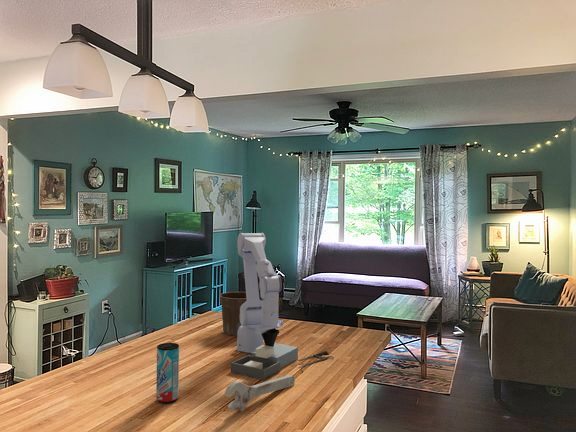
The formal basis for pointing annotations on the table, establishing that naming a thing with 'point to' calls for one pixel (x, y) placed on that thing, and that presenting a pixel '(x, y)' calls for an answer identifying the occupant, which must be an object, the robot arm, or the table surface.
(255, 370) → the box
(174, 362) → the beverage can
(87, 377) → the table surface
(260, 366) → the tile front
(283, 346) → the gray rectangular block
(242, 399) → the wrench
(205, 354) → the table surface
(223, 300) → the plant pot
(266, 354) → the tile back
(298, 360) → the hacksaw
